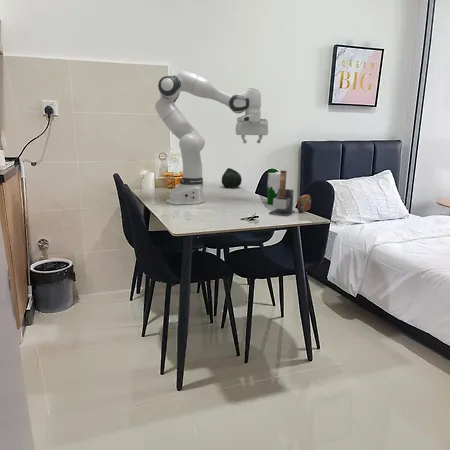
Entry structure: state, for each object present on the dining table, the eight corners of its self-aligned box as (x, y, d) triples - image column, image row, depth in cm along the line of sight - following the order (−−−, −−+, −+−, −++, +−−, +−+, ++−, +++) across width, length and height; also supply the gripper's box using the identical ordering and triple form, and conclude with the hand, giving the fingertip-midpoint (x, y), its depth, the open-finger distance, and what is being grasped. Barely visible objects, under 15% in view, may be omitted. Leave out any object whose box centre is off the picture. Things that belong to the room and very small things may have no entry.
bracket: (287, 216, 203) (289, 192, 200) (269, 214, 207) (270, 190, 205) (295, 212, 214) (296, 189, 211) (277, 210, 218) (278, 188, 215)
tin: (301, 213, 211) (302, 197, 209) (295, 212, 213) (296, 196, 211) (311, 209, 224) (312, 193, 222) (306, 208, 225) (307, 193, 223)
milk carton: (267, 201, 243) (269, 168, 238) (282, 202, 241) (284, 168, 236) (266, 204, 234) (267, 169, 230) (281, 205, 232) (283, 170, 228)
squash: (248, 180, 296) (237, 164, 299) (236, 183, 284) (225, 166, 287) (236, 191, 305) (226, 175, 308) (224, 194, 293) (213, 178, 296)
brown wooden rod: (280, 206, 206) (282, 171, 202) (277, 205, 209) (279, 170, 205) (285, 206, 208) (287, 171, 203) (282, 205, 210) (284, 170, 206)
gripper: (265, 119, 239) (264, 143, 242) (234, 118, 230) (233, 143, 233) (271, 119, 233) (269, 143, 236) (239, 117, 224) (239, 143, 227)
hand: (251, 143), depth 235 cm, fingers open, 8 cm apart
